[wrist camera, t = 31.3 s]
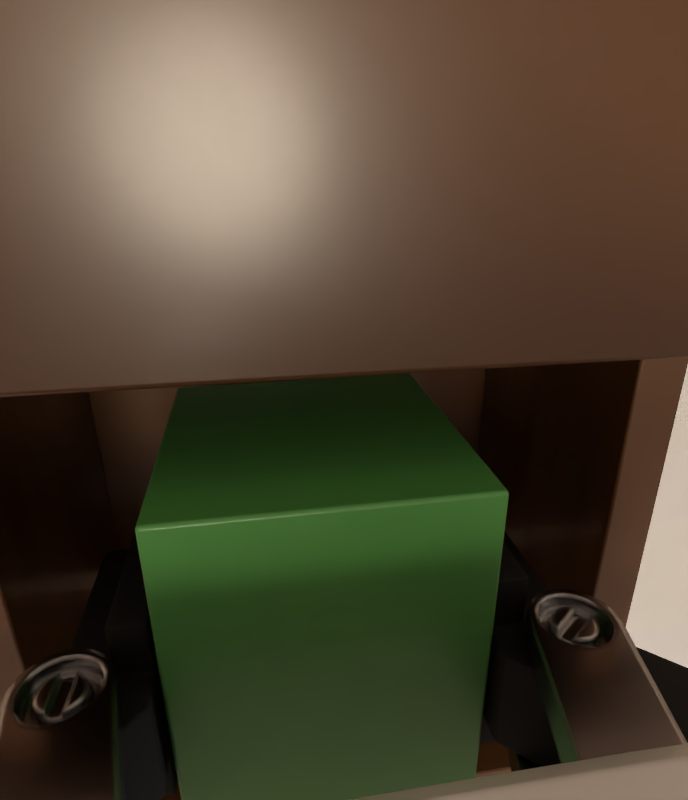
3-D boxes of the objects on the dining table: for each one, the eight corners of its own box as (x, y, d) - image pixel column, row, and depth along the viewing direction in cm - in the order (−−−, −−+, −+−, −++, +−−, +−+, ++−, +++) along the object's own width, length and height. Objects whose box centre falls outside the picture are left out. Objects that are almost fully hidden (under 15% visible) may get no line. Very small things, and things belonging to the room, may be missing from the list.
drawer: (478, 723, 21) (577, 961, 14) (124, 777, 19) (64, 1074, 13) (552, 102, 13) (831, 41, 7) (-29, 95, 11) (-369, 5, 5)
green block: (176, 386, 10) (133, 527, 6) (411, 372, 11) (511, 491, 7) (210, 656, 13) (195, 887, 9) (400, 631, 13) (470, 835, 9)
